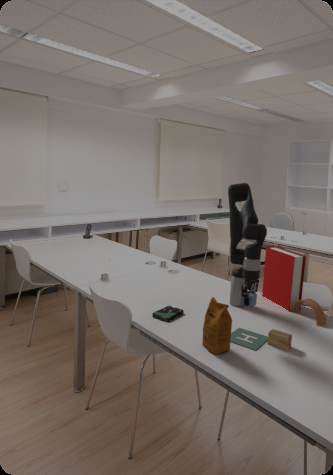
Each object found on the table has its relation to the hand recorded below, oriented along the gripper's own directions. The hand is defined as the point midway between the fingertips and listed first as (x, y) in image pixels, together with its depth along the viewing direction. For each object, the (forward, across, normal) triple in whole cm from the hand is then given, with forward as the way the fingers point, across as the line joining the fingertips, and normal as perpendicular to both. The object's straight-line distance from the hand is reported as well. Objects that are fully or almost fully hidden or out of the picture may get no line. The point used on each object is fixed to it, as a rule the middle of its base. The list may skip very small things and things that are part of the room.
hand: (248, 303), depth 163 cm
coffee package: (+18, +17, -6) cm, 25 cm away
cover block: (+18, -4, +14) cm, 23 cm away
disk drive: (+18, +3, -44) cm, 48 cm away
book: (+18, -58, -6) cm, 61 cm away
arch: (+18, -46, +14) cm, 51 cm away
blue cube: (0, 0, 0) cm, 0 cm away
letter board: (+17, 0, 0) cm, 17 cm away
